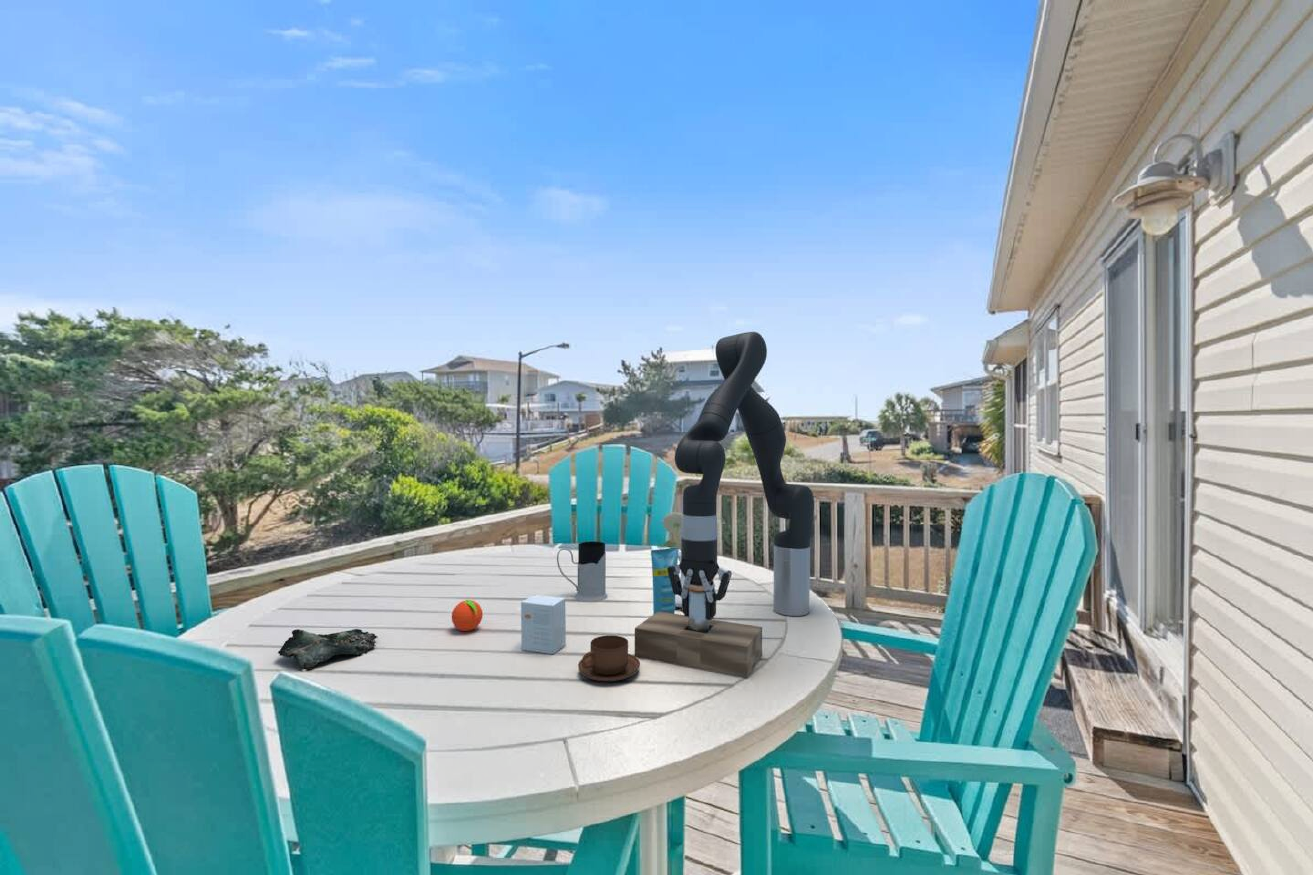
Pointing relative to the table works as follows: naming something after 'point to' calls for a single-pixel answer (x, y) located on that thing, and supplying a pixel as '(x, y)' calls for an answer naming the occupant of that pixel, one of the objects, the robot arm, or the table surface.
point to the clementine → (467, 615)
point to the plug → (697, 609)
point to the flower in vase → (674, 526)
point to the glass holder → (590, 571)
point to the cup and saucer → (609, 659)
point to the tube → (663, 579)
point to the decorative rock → (325, 646)
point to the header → (699, 644)
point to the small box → (543, 624)
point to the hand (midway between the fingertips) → (698, 616)
